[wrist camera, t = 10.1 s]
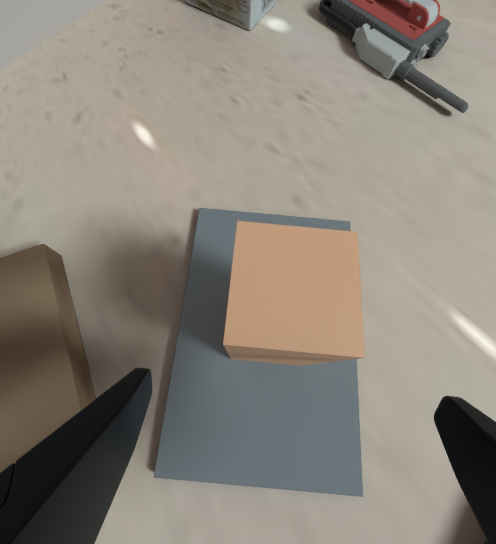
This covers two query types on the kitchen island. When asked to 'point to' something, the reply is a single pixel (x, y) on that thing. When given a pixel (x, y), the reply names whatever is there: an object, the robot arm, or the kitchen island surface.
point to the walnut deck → (38, 352)
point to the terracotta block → (294, 295)
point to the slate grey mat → (253, 390)
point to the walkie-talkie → (395, 37)
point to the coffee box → (236, 10)
